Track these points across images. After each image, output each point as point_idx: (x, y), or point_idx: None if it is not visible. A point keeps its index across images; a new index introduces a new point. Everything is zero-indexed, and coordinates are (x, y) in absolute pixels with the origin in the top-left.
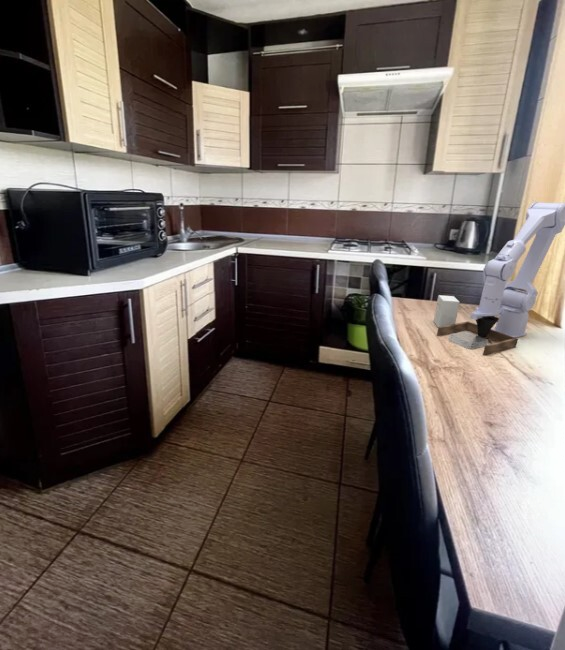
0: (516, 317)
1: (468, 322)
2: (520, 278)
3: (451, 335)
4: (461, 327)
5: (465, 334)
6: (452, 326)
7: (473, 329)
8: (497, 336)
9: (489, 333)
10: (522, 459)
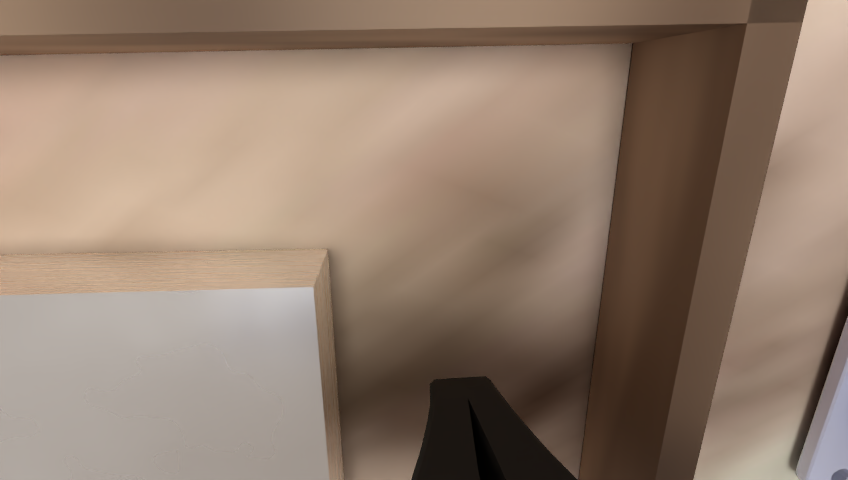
0: None
1: (743, 24)
2: None
3: None
4: (487, 36)
5: (169, 379)
6: (128, 34)
7: (647, 170)
8: None
9: (623, 428)
10: None
